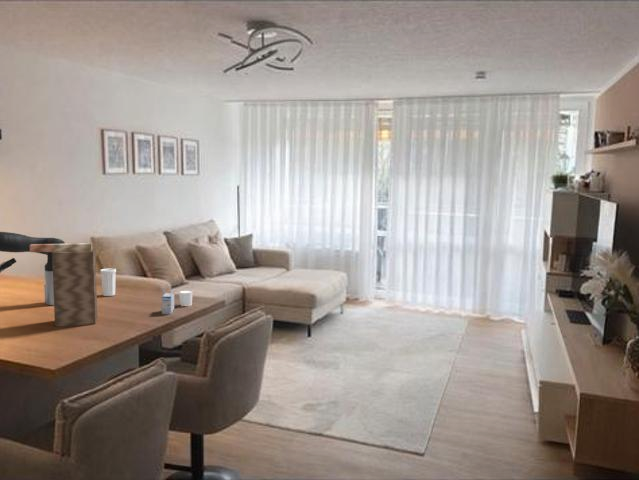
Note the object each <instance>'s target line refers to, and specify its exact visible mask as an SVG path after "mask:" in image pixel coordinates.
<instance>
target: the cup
mask: <svg viewBox="0 0 639 480" xmlns="http://www.w3.org/2000/svg"><path fill="white" fill-rule="evenodd" d="M99 271H100V277H101V278H100V279H101V290H102V296H104V297H112V296H115V295H116V279H117V278H116V273H117V269H116V268H113V267H112V268H111V267H109V268H108V267H107V268H102V269H100V270H99Z"/></svg>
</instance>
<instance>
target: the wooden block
mask: <svg viewBox="0 0 639 480" xmlns="http://www.w3.org/2000/svg"><path fill="white" fill-rule="evenodd" d="M92 249H93V243H92V242H86V243H85V242H79V243H78V242H77V243H74V242H73V243H65V244H31V245H30V252H29V253H35V252H65V251H92Z"/></svg>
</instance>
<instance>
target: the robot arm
mask: <svg viewBox="0 0 639 480" xmlns="http://www.w3.org/2000/svg"><path fill="white" fill-rule="evenodd" d="M31 244H66V242H65V240H63V239H61V238H56V237H36V236H34V237H33V236H28V235H25V234H20V233H15V232H7V231H0V252H3V253H4V252H5V253H31V252H30V245H31ZM34 253H35V254H40V255H41V254H42V255H45V256H47V262H46V263H45V264H44V282H45V283H44V302H45V303H44V304H46V305H47V306H54V290H53V266H52V253H53V252H34ZM15 263H17V260H16V259H15V257H12V258H10V259H8V260H7V261H3V262H2V263H0V273H1V272H4V271H5V270H6V269H8V268H9V267H12V266H13V265H14V264H15ZM1 274H2V273H1Z"/></svg>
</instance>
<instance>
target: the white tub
mask: <svg viewBox="0 0 639 480" xmlns="http://www.w3.org/2000/svg"><path fill="white" fill-rule="evenodd" d="M193 293H194V292H193V291H192V290H180V291H178V295H179V296H178V297H179V304H180V305H181V306H180V305H179V306H180V307H183V306H188V307H191V306H192V305H193ZM190 305H191V306H190Z"/></svg>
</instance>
